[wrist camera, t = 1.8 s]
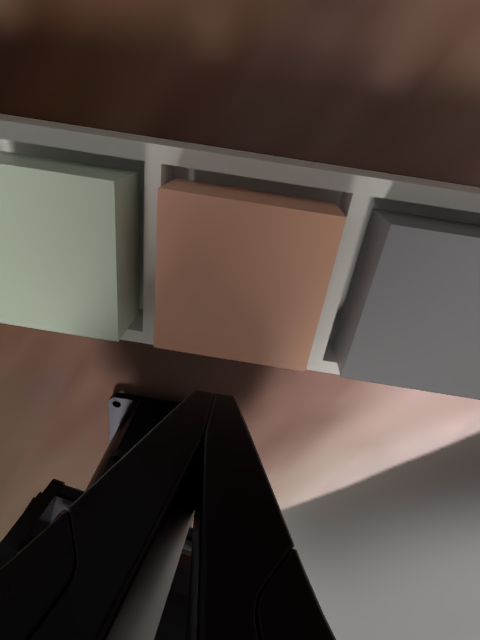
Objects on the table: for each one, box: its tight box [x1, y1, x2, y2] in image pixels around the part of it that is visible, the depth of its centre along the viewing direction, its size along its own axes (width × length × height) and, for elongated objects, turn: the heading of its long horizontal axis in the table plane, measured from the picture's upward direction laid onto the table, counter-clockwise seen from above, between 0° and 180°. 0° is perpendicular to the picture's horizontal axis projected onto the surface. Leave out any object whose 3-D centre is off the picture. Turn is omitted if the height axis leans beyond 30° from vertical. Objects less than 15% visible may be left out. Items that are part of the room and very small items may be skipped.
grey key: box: [332, 208, 480, 400], centre depth 14 cm, size 6×6×2 cm
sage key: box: [0, 151, 140, 342], centre depth 14 cm, size 6×6×2 cm
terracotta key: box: [154, 178, 347, 372], centre depth 14 cm, size 6×6×2 cm
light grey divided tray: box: [0, 114, 480, 375], centre depth 16 cm, size 8×23×3 cm, turn 82°
